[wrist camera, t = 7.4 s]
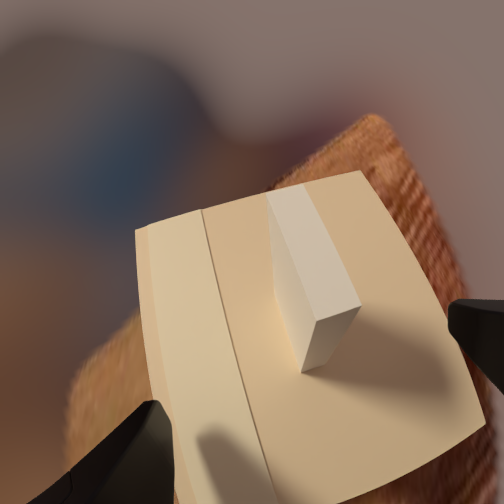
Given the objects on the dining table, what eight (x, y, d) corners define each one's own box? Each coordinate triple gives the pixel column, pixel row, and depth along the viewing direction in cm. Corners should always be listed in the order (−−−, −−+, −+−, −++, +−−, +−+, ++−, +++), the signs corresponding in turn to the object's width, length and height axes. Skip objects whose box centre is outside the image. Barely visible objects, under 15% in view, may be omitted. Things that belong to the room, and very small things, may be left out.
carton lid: (477, 424, 7) (589, 397, 2) (194, 527, 7) (113, 595, 2) (358, 179, 14) (376, 73, 9) (140, 237, 13) (81, 141, 8)
